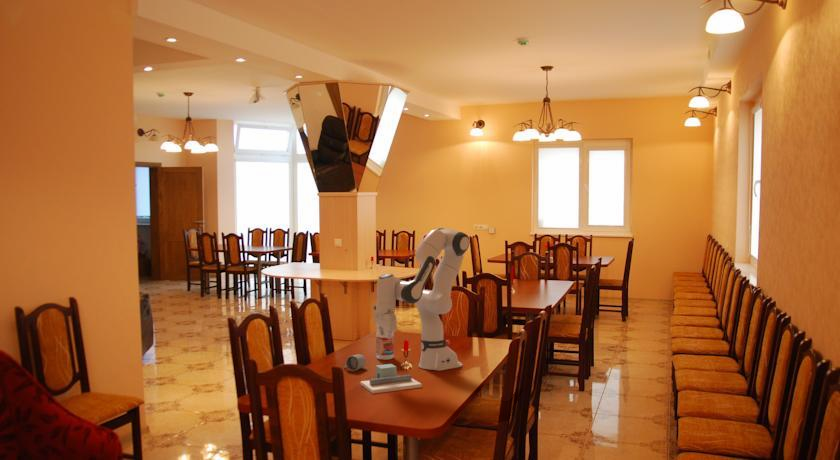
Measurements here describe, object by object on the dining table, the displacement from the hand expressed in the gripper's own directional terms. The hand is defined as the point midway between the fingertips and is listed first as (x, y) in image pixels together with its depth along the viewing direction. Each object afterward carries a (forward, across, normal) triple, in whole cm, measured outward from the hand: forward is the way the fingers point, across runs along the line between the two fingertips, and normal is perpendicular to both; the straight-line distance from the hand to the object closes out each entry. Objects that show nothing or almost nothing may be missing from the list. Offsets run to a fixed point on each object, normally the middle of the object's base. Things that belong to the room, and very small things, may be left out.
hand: (385, 336), depth 326 cm
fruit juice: (+20, +39, -16) cm, 46 cm away
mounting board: (+20, -13, +2) cm, 24 cm away
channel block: (+20, 0, -1) cm, 20 cm away
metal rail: (+19, -13, +2) cm, 23 cm away
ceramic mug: (+20, +23, +8) cm, 32 cm away
